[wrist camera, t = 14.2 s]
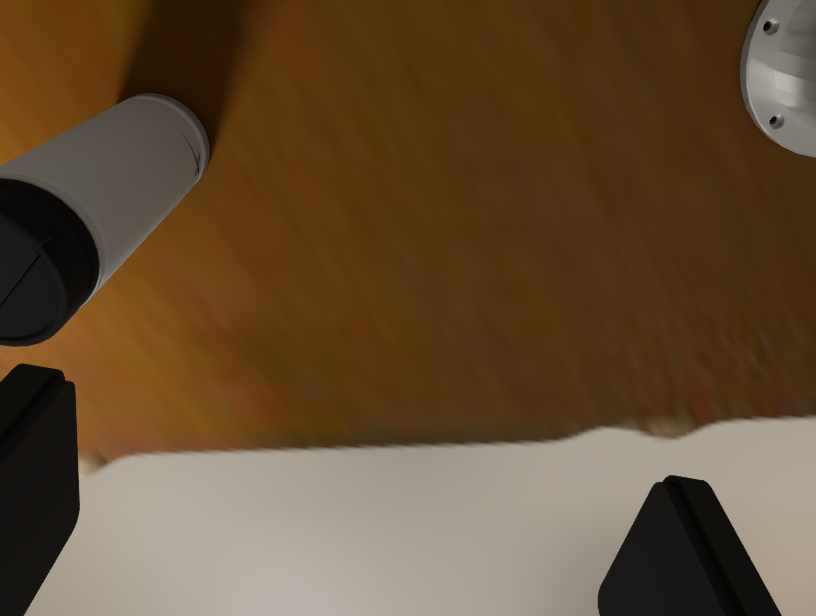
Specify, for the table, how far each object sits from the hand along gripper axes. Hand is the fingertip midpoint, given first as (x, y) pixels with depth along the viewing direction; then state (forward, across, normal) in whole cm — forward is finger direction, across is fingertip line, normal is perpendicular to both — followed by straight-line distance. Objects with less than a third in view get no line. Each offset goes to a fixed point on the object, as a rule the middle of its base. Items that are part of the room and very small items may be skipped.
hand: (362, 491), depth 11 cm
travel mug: (+34, +14, +6) cm, 37 cm away
